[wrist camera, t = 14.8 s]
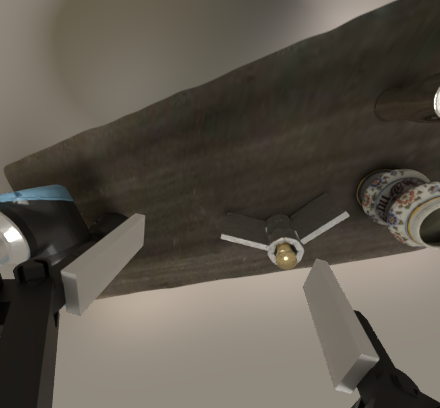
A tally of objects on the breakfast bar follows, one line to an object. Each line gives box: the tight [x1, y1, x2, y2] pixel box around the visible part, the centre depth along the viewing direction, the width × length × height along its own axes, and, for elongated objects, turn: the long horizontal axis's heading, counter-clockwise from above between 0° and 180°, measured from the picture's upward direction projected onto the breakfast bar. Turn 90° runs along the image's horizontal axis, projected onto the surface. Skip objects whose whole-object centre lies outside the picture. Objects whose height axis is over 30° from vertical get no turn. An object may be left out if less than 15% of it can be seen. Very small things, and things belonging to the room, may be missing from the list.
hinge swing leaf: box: [266, 192, 349, 249], centre depth 46 cm, size 18×7×12 cm, turn 133°
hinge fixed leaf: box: [221, 212, 304, 265], centre depth 49 cm, size 18×7×12 cm, turn 78°
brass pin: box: [276, 242, 297, 269], centre depth 47 cm, size 4×4×15 cm
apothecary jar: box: [356, 169, 440, 250], centre depth 39 cm, size 12×12×18 cm
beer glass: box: [375, 73, 440, 123], centre depth 34 cm, size 7×7×15 cm
